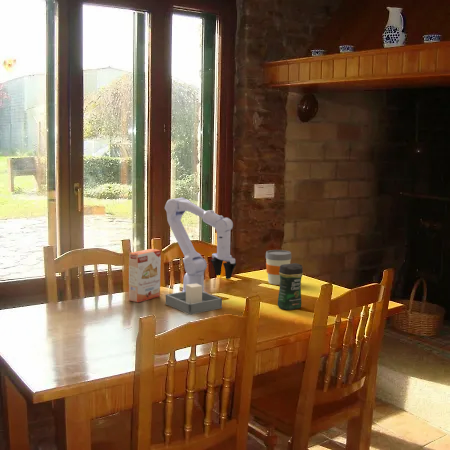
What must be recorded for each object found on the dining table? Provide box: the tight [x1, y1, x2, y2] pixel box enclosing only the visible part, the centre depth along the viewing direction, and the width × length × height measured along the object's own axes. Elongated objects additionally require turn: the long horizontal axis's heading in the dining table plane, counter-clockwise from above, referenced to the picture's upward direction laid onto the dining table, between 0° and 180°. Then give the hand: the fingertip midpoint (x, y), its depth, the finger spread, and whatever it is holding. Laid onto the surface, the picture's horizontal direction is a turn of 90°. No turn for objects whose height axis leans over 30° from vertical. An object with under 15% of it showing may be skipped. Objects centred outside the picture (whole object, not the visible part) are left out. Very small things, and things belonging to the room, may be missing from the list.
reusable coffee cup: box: [265, 249, 293, 286], centre depth 291 cm, size 12×13×15 cm
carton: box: [186, 283, 202, 304], centre depth 249 cm, size 5×5×8 cm
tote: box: [165, 291, 223, 315], centre depth 249 cm, size 18×16×4 cm
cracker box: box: [128, 248, 162, 304], centre depth 258 cm, size 14×6×21 cm, turn 143°
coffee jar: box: [277, 263, 304, 311], centre depth 248 cm, size 10×8×19 cm
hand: (223, 277), depth 261 cm, fingers open, 7 cm apart
